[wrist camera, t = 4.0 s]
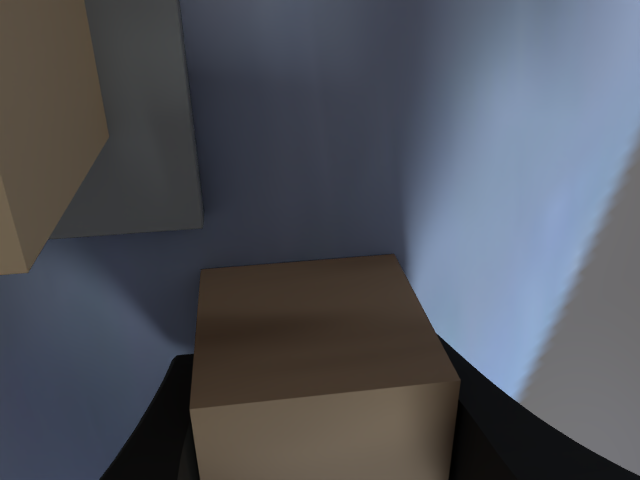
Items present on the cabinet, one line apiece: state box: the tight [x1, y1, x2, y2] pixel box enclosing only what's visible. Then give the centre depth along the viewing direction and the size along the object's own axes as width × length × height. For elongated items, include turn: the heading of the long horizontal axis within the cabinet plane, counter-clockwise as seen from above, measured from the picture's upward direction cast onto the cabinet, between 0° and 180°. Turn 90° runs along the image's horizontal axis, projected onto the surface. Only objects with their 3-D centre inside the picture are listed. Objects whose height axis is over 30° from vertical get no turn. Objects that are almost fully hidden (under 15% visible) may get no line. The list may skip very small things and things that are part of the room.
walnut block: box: [189, 254, 461, 480], centre depth 12 cm, size 4×4×4 cm
